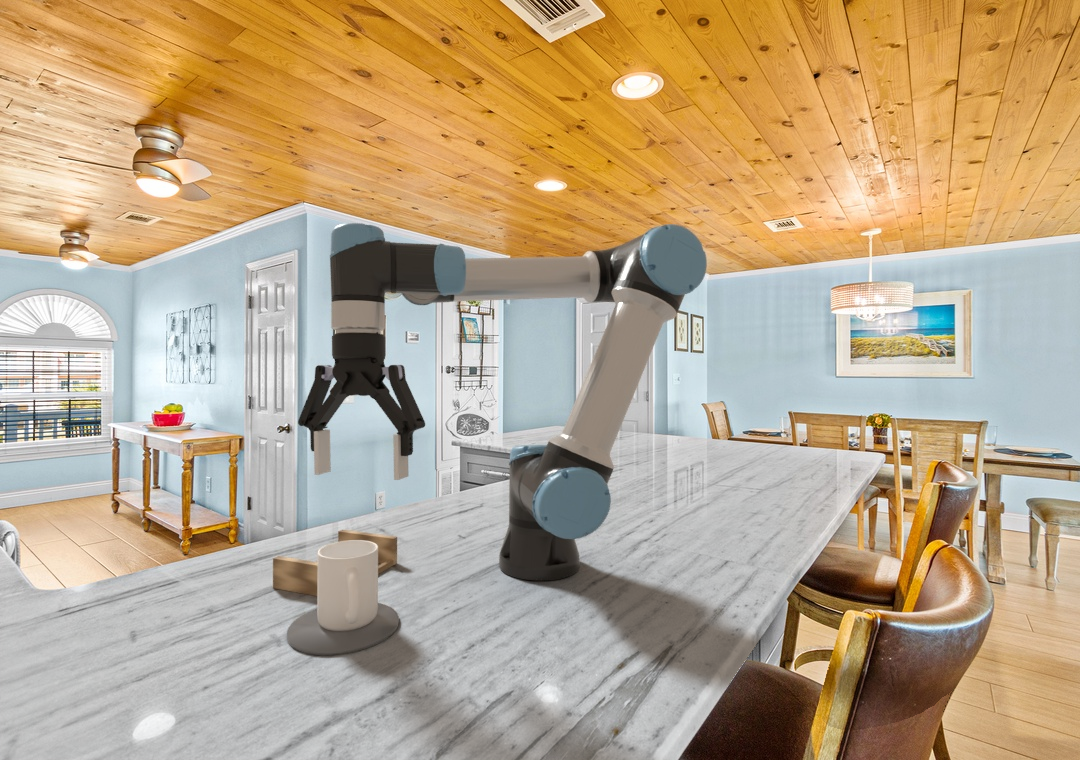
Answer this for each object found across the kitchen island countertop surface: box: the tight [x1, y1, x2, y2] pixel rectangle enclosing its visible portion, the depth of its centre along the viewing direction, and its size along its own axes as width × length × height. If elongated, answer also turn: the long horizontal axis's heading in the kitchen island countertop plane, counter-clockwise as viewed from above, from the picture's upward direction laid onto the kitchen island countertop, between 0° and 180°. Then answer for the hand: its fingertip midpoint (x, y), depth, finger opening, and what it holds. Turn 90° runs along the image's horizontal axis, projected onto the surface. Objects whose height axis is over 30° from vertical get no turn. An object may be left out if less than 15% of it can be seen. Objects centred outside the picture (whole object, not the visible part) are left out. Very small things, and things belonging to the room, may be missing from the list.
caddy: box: [272, 529, 398, 597], centre depth 98 cm, size 13×17×5 cm
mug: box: [316, 540, 379, 631], centre depth 78 cm, size 12×8×10 cm
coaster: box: [286, 602, 400, 656], centre depth 79 cm, size 15×15×1 cm
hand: (361, 475), depth 82 cm, fingers open, 13 cm apart
